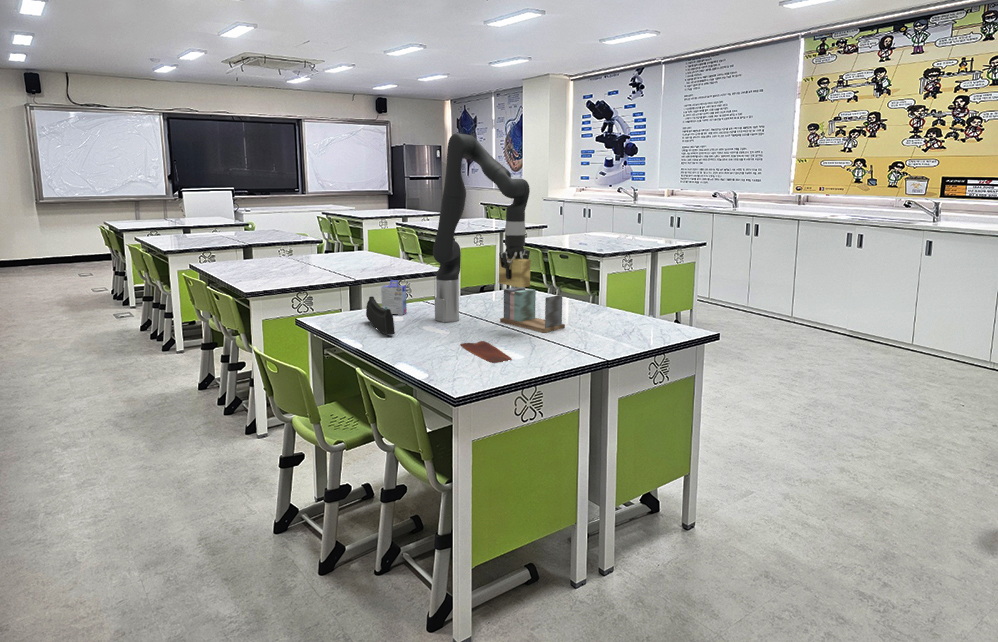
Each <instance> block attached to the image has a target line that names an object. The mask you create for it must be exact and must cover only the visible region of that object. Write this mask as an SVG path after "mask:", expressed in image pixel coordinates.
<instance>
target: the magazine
mask: <svg viewBox="0 0 998 642" xmlns="http://www.w3.org/2000/svg"><path fill="white" fill-rule="evenodd" d="M365 309H366V311H365V312H366V313H365V315H366V318H367V319H368V321H369V322H370V324H371V325H372V327H373V326H374V327H375V328H377V329H378V330H379V331H380V332H379V331H378V330H377V331H378V332H379V333H381V334H385V335H386V336H387V335H388V336H391V335H396V332H395V330H396V329H395V322H394V315H392V313H391V310H390V309H384V308H382V305H380V304H379V303H378V302H377V301H376V299H375V296H369V297H368V300H367V302H366V307H365ZM375 328H374V329H375Z"/></svg>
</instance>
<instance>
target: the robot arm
mask: <svg viewBox="0 0 998 642" xmlns="http://www.w3.org/2000/svg"><path fill="white" fill-rule="evenodd" d="M463 159H464V160H465V159H467V160H471V161H473V162H474V163H476V164H477V165H479V167H480V168H481V171H482V173H483V174H484V176H486V178H487V179H488V180H490V181H491V182H492V183H493V184H495V185H496V187H497V189H499V191H500V193H501V194H502V196H504V197H506V198H508V199H513V201H512V203H511V204H510V205H508V206H506V209H505V211H506V212H505V227H504V229H505V230H504V245H505V250H504V251H503V252H499V255H498V256H499V257H500V261H501V267H502V268H505V269H506V278H507V279H511V278H512V270H511V268H512V263H513V260H514V259H529V260H530V258H529V257H530V253H531V250H530V249H529V250H527V249H525V248H524V247H525V245H526V222H525V221H526V208H527V206H528V200H529V198H530V193H531V192H530V191H531V188H530V185H529V182H528V181H527V180H526V179H525V178H512V175H511V174H512V173H511V171H510V170H509V169H507V167H505V166H504V165H503V164H501V163H500V162H499V161H498V160H496V159H495V158H494V157H493V156H492V155H491V154H490V153H489V152H488V151H487V150H486V149H485V148H484V147H483V145H482V143H480V142H479V140H478V139H476V137H475V136H473V135H472V134H471V135H470V134H468V133H467V134H464V133H453V134H451V136H450V137H449V139H448V143H447V149H446V167H445V177H444V184H443V191H442V195H441V196H442V199H441V205H440V213H439V220H438V226H437V227H438V228H437V231H436V234H435V240H434V242H433V248H432V255H433V258H434V260H435V262H437V263H438V264H439V268H438V270H437V271H436V273H435V274H436V275H435V279H436V281H435V283H436V284H435V285H436V286H435V287H436V297H434V320H435V321H438V322H441V323H452V322H454V323H455V322H458V321H459V320H460V299H459V298H460V297H459V295H460V291H459V290H460V289H459V288H460V287H459V285H460V283H459V280H460V278H459V277H460V276H459V275H460V272H461V265H462V264H461V257H462V254H461V253H462V251H461V250H462V249H461V247H460V244H459V243H458V242H457V240H454V238H455V233H456V228H457V226H458V224H459V222H460V220H461V218H462V215H463V212H464V210H465V205H466V199H467V190H466V186H465V183H464V180H463V176H462V163H463ZM508 259H512V260H511V261H508ZM508 263H510V264H509V266H508Z"/></svg>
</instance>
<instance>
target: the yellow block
mask: <svg viewBox="0 0 998 642" xmlns="http://www.w3.org/2000/svg"><path fill="white" fill-rule="evenodd" d="M498 260H499V261H498V263H499V264H498V272H499V273H498V284H501V285H506V286H511V287H514V288H516V287H520V288H521V287H523V288H528V287H531V264H532V263H531V259H530V258H529V259H514V260H513V263H512V268H511V270H512V278H511V279H507V278H506V269H505V268H502V267H501V261H500V256H499V257H498ZM511 260H512V259H508V261H511ZM509 264H510V263H508V266H509Z"/></svg>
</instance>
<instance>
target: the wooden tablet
mask: <svg viewBox="0 0 998 642" xmlns="http://www.w3.org/2000/svg"><path fill="white" fill-rule="evenodd" d="M459 345H460V346H461V348H463V349H465V350H466V351H468V352H470V353H471V354H473V355H475V356H477V357H479V358H480V359H482V360H485V361H486V362H488V361H489V362H488V363H491V362H492V364H495V363H496V364H497V363H504V362H503V361H505V362H509V361H508V360H510V361H513V358H512V357H510V356H509V355H507V354H506V353H505V352H503V351H501V350H500V348H499V349H498V348H497V347H496V346H494V345H493V344H491V343H489V342H487V341H485V340H480V341H477V342H462V343H460V344H459Z"/></svg>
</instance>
